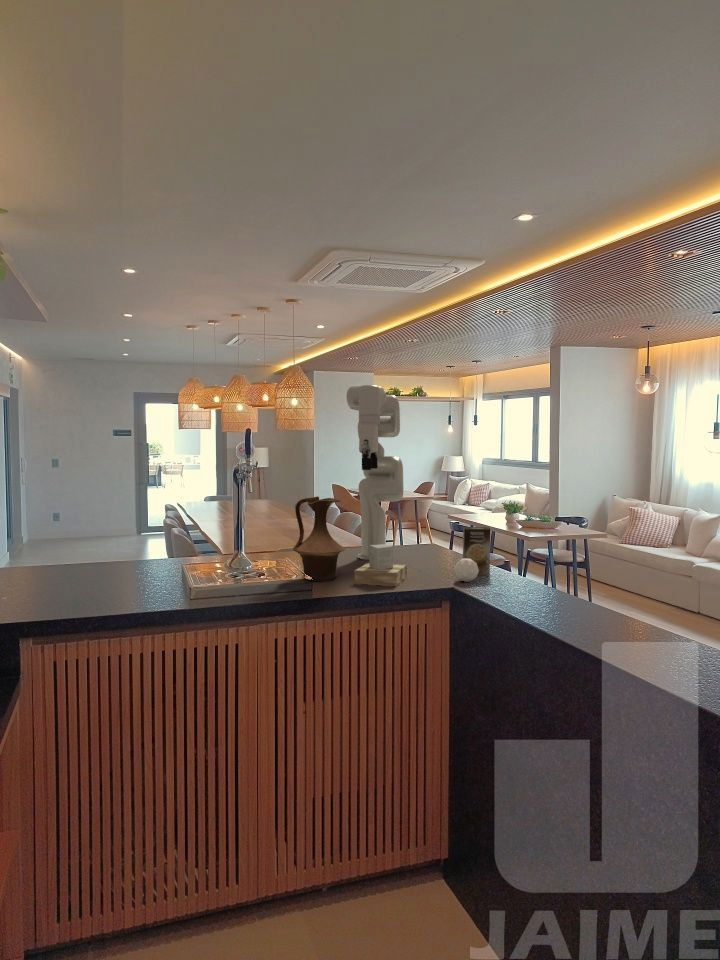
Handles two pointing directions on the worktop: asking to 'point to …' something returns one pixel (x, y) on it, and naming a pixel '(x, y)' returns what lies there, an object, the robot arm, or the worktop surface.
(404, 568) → the birch block
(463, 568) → the geometric ball
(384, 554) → the product box
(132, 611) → the worktop surface
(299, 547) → the pitcher
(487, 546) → the coffee box
